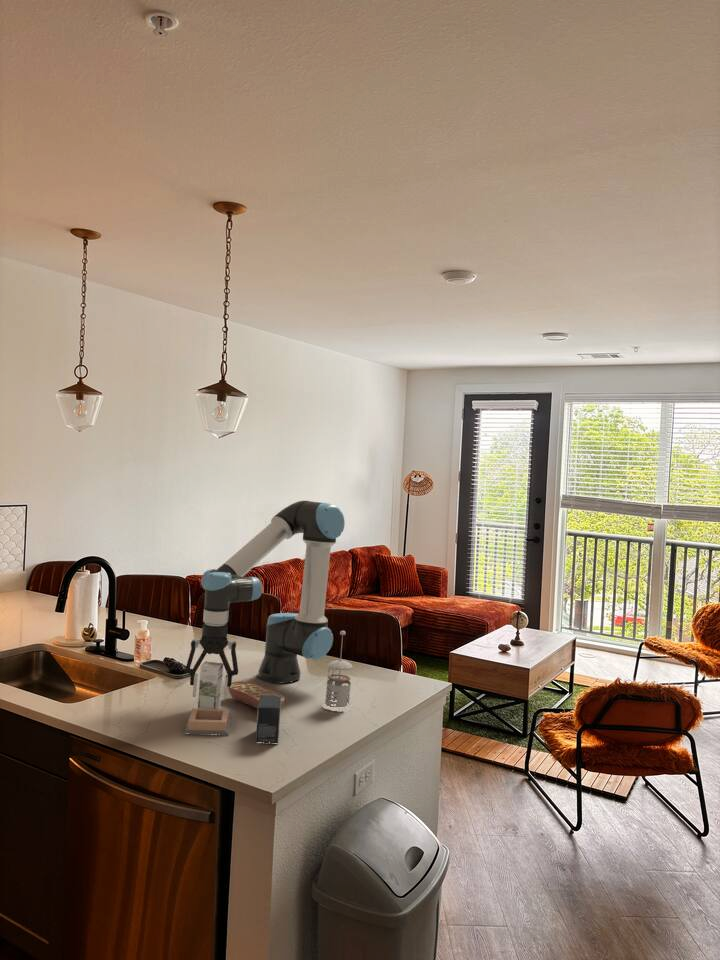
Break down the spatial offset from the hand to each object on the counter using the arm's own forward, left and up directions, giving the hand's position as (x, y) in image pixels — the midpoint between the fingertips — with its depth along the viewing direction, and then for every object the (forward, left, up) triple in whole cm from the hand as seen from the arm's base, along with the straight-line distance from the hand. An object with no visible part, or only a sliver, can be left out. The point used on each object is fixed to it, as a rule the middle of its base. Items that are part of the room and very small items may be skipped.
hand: (209, 696), depth 222 cm
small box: (-18, +20, -5) cm, 27 cm away
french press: (-40, -8, -5) cm, 41 cm away
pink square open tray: (-1, +14, -4) cm, 15 cm away
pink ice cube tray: (-14, -5, -5) cm, 16 cm away
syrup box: (0, 0, -5) cm, 5 cm away
